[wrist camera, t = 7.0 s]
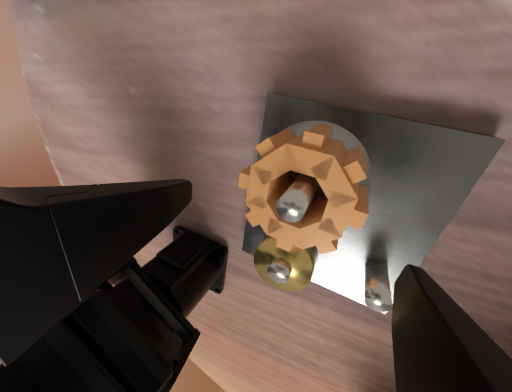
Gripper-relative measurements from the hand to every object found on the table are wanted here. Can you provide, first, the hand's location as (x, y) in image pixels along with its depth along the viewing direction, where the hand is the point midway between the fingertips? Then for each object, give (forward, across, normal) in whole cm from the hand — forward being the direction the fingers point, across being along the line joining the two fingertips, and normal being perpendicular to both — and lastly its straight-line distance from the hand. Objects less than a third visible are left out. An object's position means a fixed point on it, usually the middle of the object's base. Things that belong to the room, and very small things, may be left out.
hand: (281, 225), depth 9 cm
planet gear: (+7, 0, 0) cm, 7 cm away
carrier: (+8, -2, +2) cm, 8 cm away
